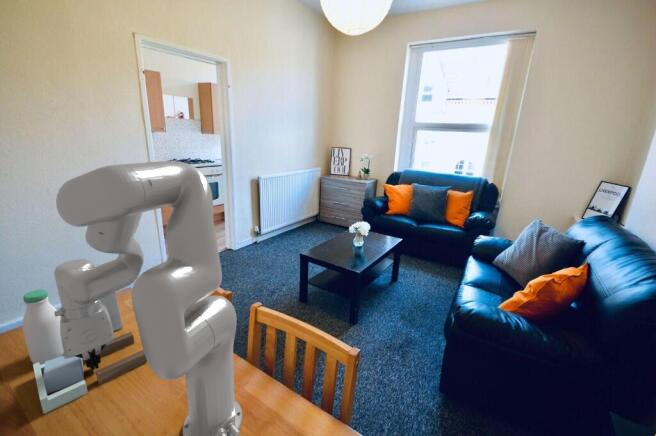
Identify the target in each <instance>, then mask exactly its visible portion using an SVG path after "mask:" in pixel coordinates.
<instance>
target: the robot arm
mask: <svg viewBox="0 0 656 436" xmlns="http://www.w3.org/2000/svg"><path fill="white" fill-rule="evenodd" d="M211 188H212V187H211V186H210V183H209V180H208V179H207V178H206V176H205V175H204V174H203V172H202V171H201V170H199V168H197V167H196V166H194V165H192V164H190V163H186V162H184V161H183V162H182V161H178V160H177V161H175V160H163V161H162V160H159V161H147V162H146V161H145V162H137V163H122V164H111V165H105V166H102V167H98V168H96V169H93V170H90V171H89V172H88V171H87V172H86V173H83V174H81V175H80V174H79V175H78V176H75V177H73V178H71V179H69V180H67V181H66V182H64V183H63V184H62V185H61V187H60V188H59V189H58V192H57V193H56V197H55V199H56V200H55V203H56V204H55V205H56V209H57V212H58V214H59V216H60V218H61V219H62V220H63V221H64V222H65V223H67V225H70V226H73V227H77V228H81V227H82V228H83V227H86V231H85V236H84V237H85V241H86V243H87V244H88V245H89V246H90V247H91V248H92V249H94V250H96V251H98V252H100V253H105V254H112V255H113V254H115V255H117V257H116V259H114V260H111V261H108V262H105V263H103V264H102V263H101V264H100V265H97V266H95V264H94V262H93V261H91V260H89V259H86V258H85V259H84V258H83V259H80V258H79V259H73V260H68V261H65V262H62V263H60V264H59V265H57V266H56V267H55V269H54V271H53V274H54V280H55V284H56V288H57V293H58V297H59V303H60V308H59V309H57V311H54V314H55V317H57V316H60V317H61V319H60V334H61V341H62V346H63V350H64V353H63V357H64V359H69V358H73V357H79V358H82V359H83V360H84V363H85V366H86V368H87V369H88V368H90V370H91V372H93V371H95V370H96V369H97V370H99V369H100V366H99V364H101V363H102V359H101V357H100V353H101V351H102V349H103V348H104V347H105V346H106V344H108V343H110V342H112V341H114V340H115V338H116V337H115V334H114V332H115V331H113V328H112V324H111V320H110V316H109V313H108V311H107V309H106V307H105V306H104V305H103V304H101V300H100V299H102V298H104V297H106V296H108V295H110V294H112V293H114V292H116V293H117V292H118V291H120V290H122V289H125V288H127V287H129V286H131V285H132V291H131V302H132V303H131V304H132V308H133V313H134V317H135V321H136V325H137V329H138V332H139V337H140V342H141V345H142V350H144V353H145V357H146V359H147V362H146V363H147V364H148V366H149V368H150V370H152V372H153V373H154V374H155V375H156V376H157V377H159V378H160V379H163V380H166V381H174V380H177V379H180V378H182V377H183V376H184V375H185V383H186V394H187V405H188V407H187V408H188V415H186V417H185V420H184V422H183V426H182V436H240V435H241V431H240V429H241V426H240V425H242V422H243V411H242V407H241V405H240V403H239V402H238V401H236V399H235V380H234V379H235V378H234V377H235V376H234V374H235V373H234V372H235V371H234V342H235V337H236V336H235V335H236V330H237V324H238V323H237V321H238V319H237V313H236V309H235V306H234V305H233V304H232V302H231V301H230V300H228V299H227V298H226V297H225V296H221V295H212V294H213V293H214V292H215V291H217V290H218V289H219V287H220V286H221V284H222V281H223V275H222V274H223V273H222V265H221V261H220V260H221V259H220V253H219V247H218V242H217V235H216V230H215V224H214V223H215V221H214V199H213V192H212V189H211ZM166 207H172V210H171V212H170V215H169V216H168V219H167V222H166V227H165V241H166V244H167V251H168V258H167V259H166V260H165V261H164V262H161V263H159V264H157V265H154V266H152V267H151V268H148V269H146V270H145V271H144V272H142V273H141V271H142V268H143V265H144V262H145V261H144V259H145V258H144V253H143V249H142V248H141V246H140V244H139V242H138V241H137V240H136V239H135V236H136V234H137V230H138V227H139V223H140V221H141V218H142V216H143V213H145V212H150V211H154V210H158V209H159V210H160V209H162V208H166ZM140 273H141V274H140ZM92 349H93V350H92ZM89 350H92V352H91V353H90V352H88V351H89ZM91 354H92V355H91Z"/></svg>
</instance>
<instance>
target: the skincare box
mask: <svg viewBox="0 0 656 436" xmlns="http://www.w3.org/2000/svg"><path fill="white" fill-rule="evenodd" d="M100 300H101V304H103V305H104V306H105V307H106V309H107V311H108V313H109V316H110V320H111V324H112V328H113V332H117V331H118V330H121V329H123V327H124V326H123V321H122V316H121V312H120V307H119V302H118V297H117V291H116V292H114V293H112V294H110V295H108V296H106V297H104V298H102V299H100Z"/></svg>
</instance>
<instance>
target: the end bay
mask: <svg viewBox="0 0 656 436" xmlns="http://www.w3.org/2000/svg"><path fill="white" fill-rule="evenodd" d="M32 366H33V371H34V377H35V382H36V387H37V391H38V392H37V393H38V397H39V400H40V405H41V409H42V413H43V414H44V415H45V414H47V413H49V412H51V411H54V410H55V409H57V408H59V407H61V406H63V405H66V404H68V403H70V402H72V401H75V400H76V399H78V398H80V397H83V396H85V395H87V394H88V393H89V391H88V387H87V382H86V380H85V379H84V380H83V381H80V382H77V383H75V384H72V385H69V386H66V387H64V388H62V389H60V390H59V391H58V390H57V391H56V392H54V393H52V394H50V395H48V393H47V392H46V388H45V384H44V380H43V376H44V368H45V363H44V364H40V363H39V362H38V363H35V364H34V363H32Z"/></svg>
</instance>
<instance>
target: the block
mask: <svg viewBox="0 0 656 436" xmlns="http://www.w3.org/2000/svg"><path fill="white" fill-rule="evenodd" d="M83 360H84V359H83V358H79V357H73V358H69V359H64V357H63V356H61V357H58V358H55V359H52V360H48V361H45V368H44V376H43V380H44V384H45V388H46V392H47V394H49V393H53V392H55V391H56V392H57V391H58V390H62V389H65V388H67V387H69V386H72V385H74V384H76V383H78V382H81V381H83V380H85V378H84V377H85V376H84V375H85V374H84V361H83Z"/></svg>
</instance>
